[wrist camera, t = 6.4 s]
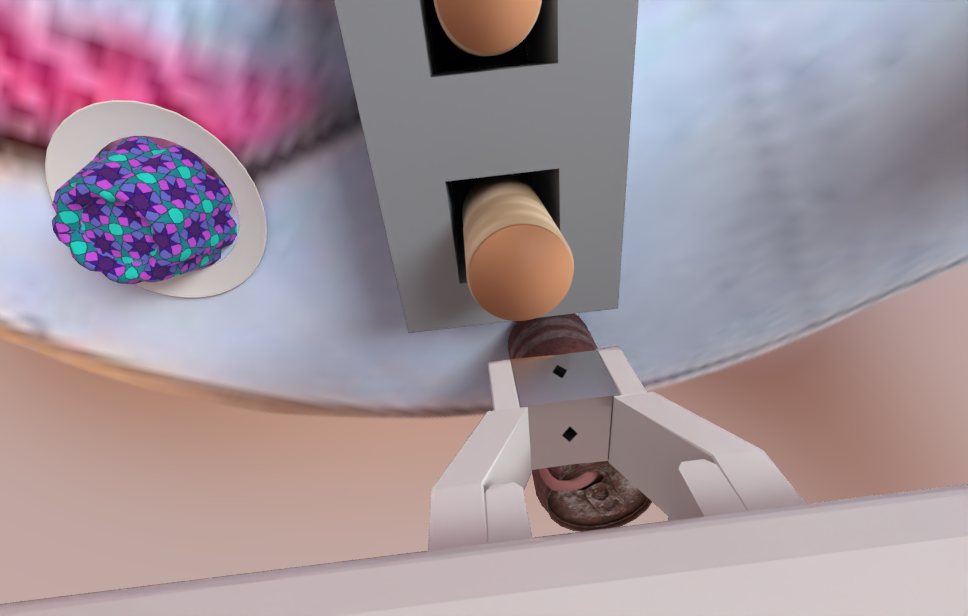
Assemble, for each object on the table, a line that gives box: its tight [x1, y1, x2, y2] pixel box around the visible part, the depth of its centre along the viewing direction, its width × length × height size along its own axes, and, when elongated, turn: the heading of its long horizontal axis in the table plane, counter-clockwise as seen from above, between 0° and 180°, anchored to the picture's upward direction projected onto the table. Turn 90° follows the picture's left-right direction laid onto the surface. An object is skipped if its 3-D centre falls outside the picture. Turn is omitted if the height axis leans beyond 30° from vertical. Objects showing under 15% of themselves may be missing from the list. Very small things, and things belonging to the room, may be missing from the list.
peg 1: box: [434, 0, 542, 57], centre depth 19 cm, size 4×4×8 cm
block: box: [334, 0, 638, 333], centre depth 21 cm, size 11×19×8 cm, turn 6°
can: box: [508, 314, 652, 532], centre depth 27 cm, size 6×6×14 cm
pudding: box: [45, 100, 267, 298], centre depth 24 cm, size 12×12×5 cm
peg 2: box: [462, 174, 574, 321], centre depth 19 cm, size 4×4×8 cm
